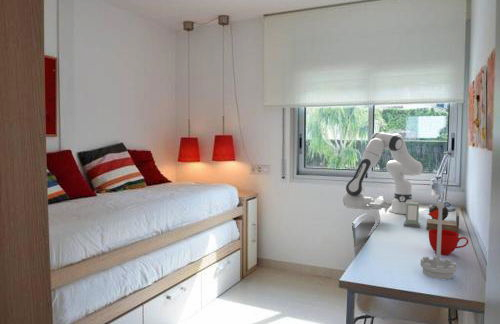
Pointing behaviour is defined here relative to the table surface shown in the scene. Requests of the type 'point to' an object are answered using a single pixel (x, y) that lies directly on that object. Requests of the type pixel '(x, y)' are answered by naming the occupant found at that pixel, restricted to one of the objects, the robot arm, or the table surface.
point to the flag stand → (438, 254)
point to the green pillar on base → (412, 215)
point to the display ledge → (444, 224)
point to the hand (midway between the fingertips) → (390, 205)
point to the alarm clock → (434, 207)
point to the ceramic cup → (445, 241)
